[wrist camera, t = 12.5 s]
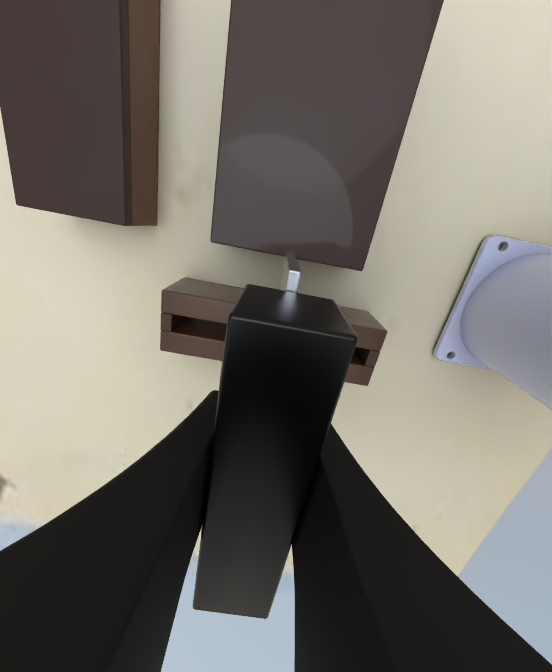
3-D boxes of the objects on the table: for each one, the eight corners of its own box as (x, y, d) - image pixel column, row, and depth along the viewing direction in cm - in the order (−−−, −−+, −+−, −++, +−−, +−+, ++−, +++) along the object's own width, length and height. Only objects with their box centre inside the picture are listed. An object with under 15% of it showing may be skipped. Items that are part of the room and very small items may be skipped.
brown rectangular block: (161, -43, 12) (115, -142, 9) (156, 225, 16) (125, 226, 13) (43, -72, 12) (-49, -185, 8) (70, 208, 16) (15, 204, 13)
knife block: (368, 311, 18) (388, 331, 15) (353, 358, 19) (368, 386, 16) (183, 277, 17) (161, 289, 14) (181, 328, 18) (159, 350, 15)
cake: (414, 18, 12) (460, -55, 9) (347, 262, 17) (362, 271, 13) (251, -22, 12) (240, -111, 9) (224, 238, 16) (210, 242, 13)
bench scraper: (273, 440, 15) (265, 629, 8) (234, 434, 15) (190, 619, 8) (316, 255, 11) (370, 307, 4) (264, 245, 11) (230, 282, 4)
